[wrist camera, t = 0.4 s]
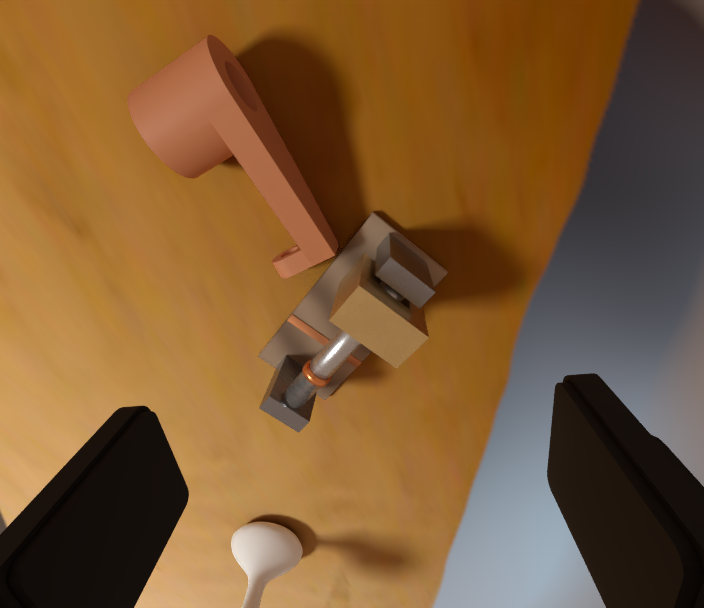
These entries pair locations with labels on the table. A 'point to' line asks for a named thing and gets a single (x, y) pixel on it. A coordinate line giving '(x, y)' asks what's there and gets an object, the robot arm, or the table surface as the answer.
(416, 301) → the pipe rail
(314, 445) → the table surface
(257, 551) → the flower in vase
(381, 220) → the base board
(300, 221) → the crank
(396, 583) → the table surface
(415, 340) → the collar
